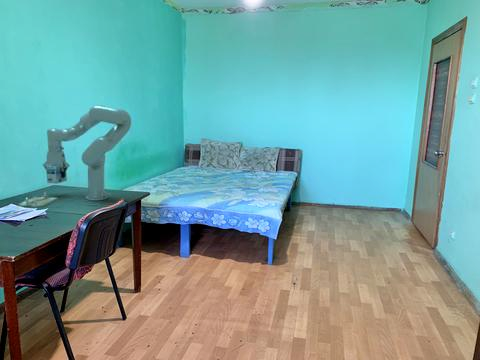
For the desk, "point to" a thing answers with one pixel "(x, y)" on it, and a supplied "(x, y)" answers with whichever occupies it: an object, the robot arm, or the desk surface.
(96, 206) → the desk surface
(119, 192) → the desk surface
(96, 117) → the robot arm
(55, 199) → the locator board
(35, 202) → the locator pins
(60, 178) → the light bulb box
